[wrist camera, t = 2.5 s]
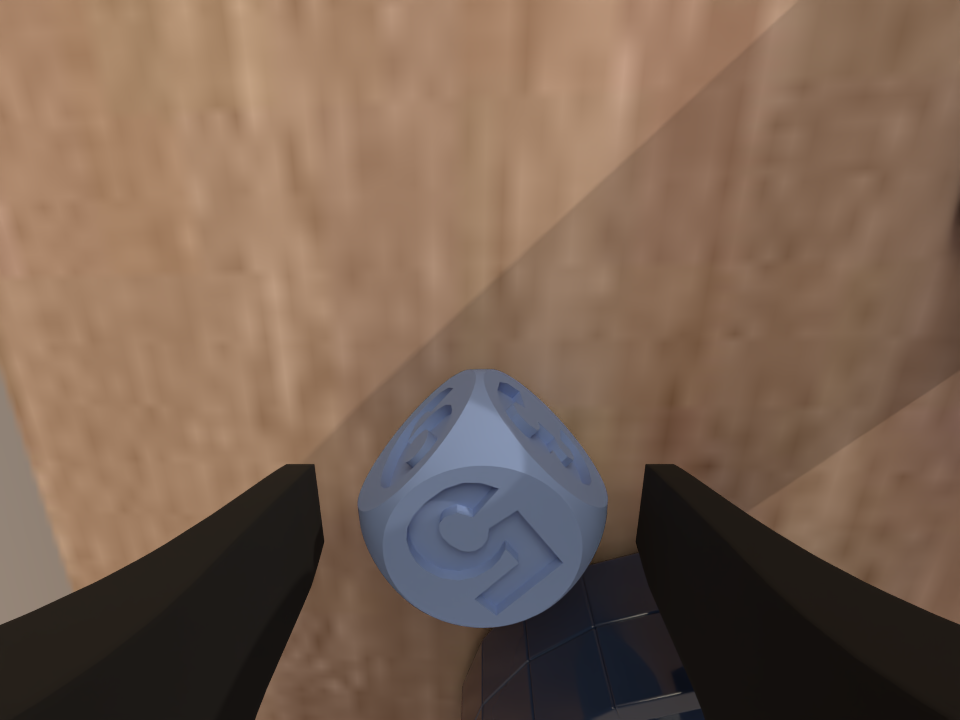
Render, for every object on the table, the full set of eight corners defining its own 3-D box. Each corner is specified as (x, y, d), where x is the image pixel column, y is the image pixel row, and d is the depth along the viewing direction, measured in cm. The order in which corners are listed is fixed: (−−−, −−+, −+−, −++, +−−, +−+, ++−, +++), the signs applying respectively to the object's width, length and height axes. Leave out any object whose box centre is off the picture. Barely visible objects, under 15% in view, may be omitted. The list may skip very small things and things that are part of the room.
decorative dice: (484, 534, 14) (485, 661, 11) (375, 448, 13) (333, 554, 10) (590, 444, 13) (632, 550, 10) (480, 344, 12) (478, 417, 9)
